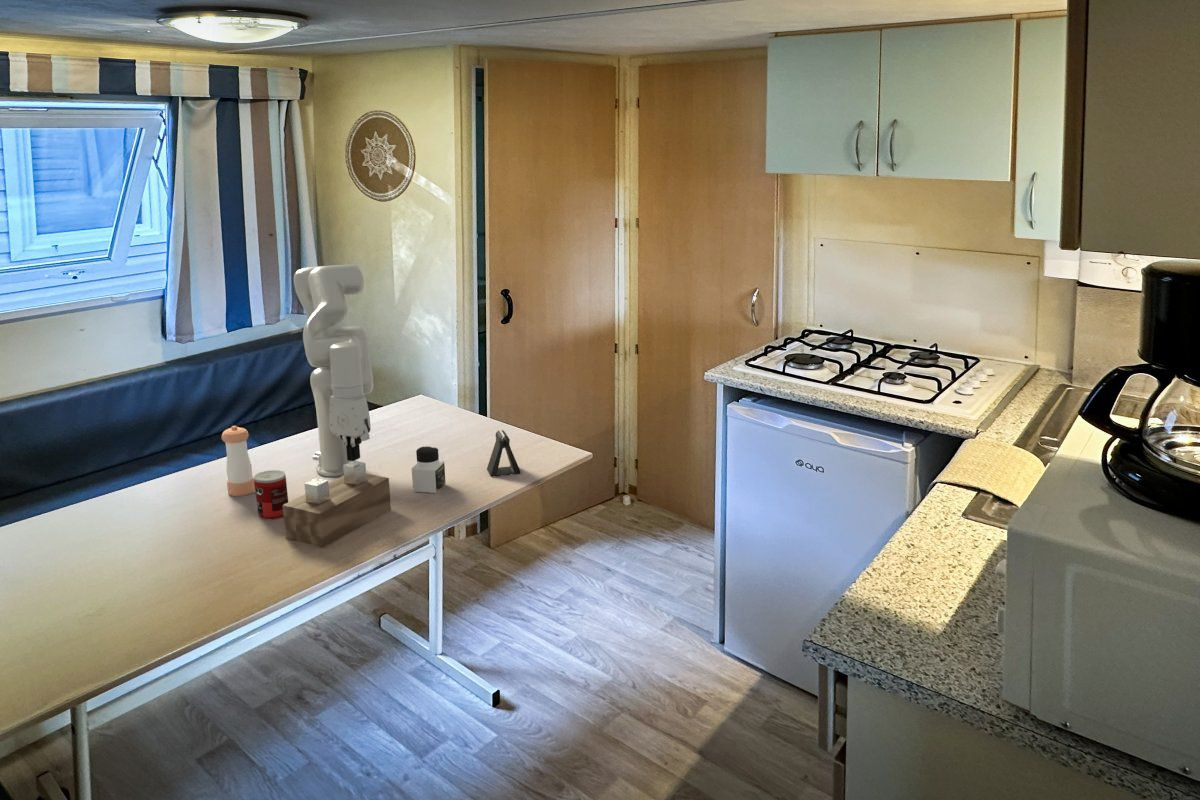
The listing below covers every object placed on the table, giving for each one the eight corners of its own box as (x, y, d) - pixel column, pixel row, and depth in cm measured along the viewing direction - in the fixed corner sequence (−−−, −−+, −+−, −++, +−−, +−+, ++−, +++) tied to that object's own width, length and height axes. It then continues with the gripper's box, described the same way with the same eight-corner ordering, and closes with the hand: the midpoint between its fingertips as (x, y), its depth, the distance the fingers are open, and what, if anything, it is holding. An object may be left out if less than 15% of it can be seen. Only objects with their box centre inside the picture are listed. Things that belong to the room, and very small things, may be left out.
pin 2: (345, 494, 251) (343, 465, 249) (355, 488, 254) (353, 460, 252) (357, 496, 249) (355, 467, 247) (367, 491, 253) (365, 462, 250)
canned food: (262, 509, 257) (257, 470, 254) (292, 507, 258) (288, 469, 255) (254, 520, 250) (249, 481, 247) (286, 519, 250) (281, 480, 247)
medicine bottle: (437, 493, 267) (434, 453, 263) (412, 492, 268) (410, 451, 265) (445, 484, 273) (443, 444, 270) (422, 482, 275) (419, 443, 271)
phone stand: (516, 466, 287) (515, 428, 283) (520, 473, 281) (519, 434, 278) (486, 470, 284) (485, 431, 281) (490, 477, 279) (488, 438, 275)
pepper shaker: (261, 488, 271) (253, 424, 265) (241, 497, 265) (233, 431, 259) (241, 484, 274) (234, 420, 268) (222, 493, 268) (213, 428, 262)
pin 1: (307, 513, 239) (304, 483, 237) (318, 507, 243) (315, 478, 240) (319, 516, 237) (316, 486, 235) (330, 510, 241) (328, 480, 238)
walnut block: (286, 538, 239) (282, 505, 237) (355, 501, 261) (353, 470, 259) (323, 547, 234) (319, 513, 231) (391, 509, 256) (388, 478, 254)
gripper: (315, 391, 244) (321, 459, 249) (361, 398, 237) (367, 468, 243) (335, 384, 250) (341, 450, 256) (381, 391, 244) (386, 459, 249)
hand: (353, 459), depth 249 cm, fingers closed
